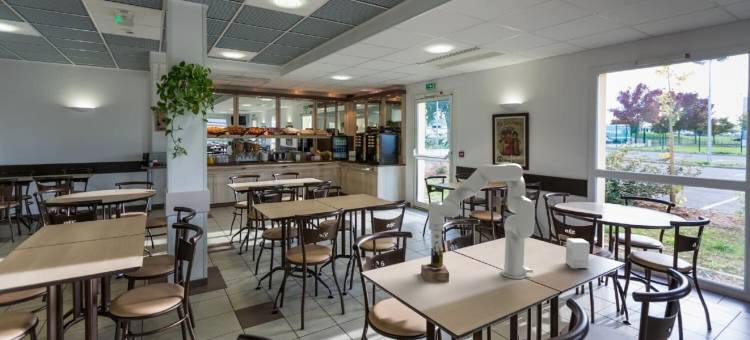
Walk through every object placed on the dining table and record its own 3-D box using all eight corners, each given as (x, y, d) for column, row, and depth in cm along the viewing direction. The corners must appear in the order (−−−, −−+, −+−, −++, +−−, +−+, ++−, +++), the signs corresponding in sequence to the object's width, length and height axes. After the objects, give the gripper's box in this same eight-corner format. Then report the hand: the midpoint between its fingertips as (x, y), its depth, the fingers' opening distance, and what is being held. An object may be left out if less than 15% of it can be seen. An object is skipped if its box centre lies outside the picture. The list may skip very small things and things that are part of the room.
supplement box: (581, 263, 216) (582, 238, 215) (588, 269, 208) (590, 242, 206) (564, 263, 217) (566, 237, 216) (571, 268, 208) (572, 242, 207)
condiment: (446, 266, 192) (446, 243, 191) (434, 269, 187) (434, 246, 186) (436, 262, 198) (436, 240, 197) (424, 265, 193) (424, 242, 192)
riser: (443, 273, 200) (443, 264, 200) (448, 282, 188) (449, 272, 188) (421, 273, 200) (421, 264, 199) (425, 282, 188) (425, 272, 187)
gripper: (445, 230, 183) (444, 266, 184) (441, 222, 200) (440, 255, 201) (429, 230, 183) (429, 266, 185) (427, 222, 200) (426, 254, 202)
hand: (435, 260), depth 193 cm, fingers closed on condiment, 6 cm apart
